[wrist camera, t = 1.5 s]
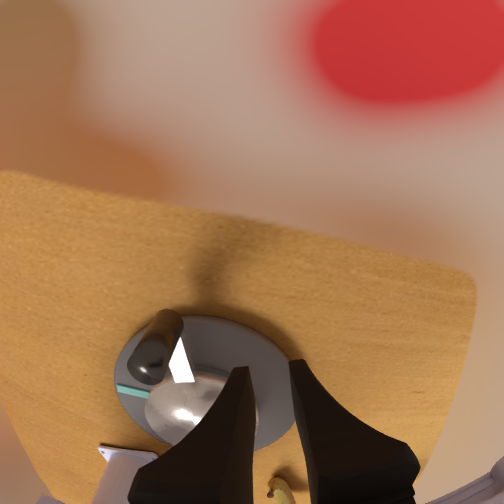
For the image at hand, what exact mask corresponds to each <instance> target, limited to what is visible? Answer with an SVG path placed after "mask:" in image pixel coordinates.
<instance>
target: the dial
mask: <svg viewBox="0 0 504 504" xmlns="http://www.w3.org/2000/svg"><path fill="white" fill-rule="evenodd" d="M168 366H170V370H168V371H167V368H168ZM127 369H128V371H129V373H130V374H131V376H132V377H133V378H134V379H135V380H137V381H139V382H140V383H143V384H146V385H153V386H152V388H151V391H150V393H149V396H148V398H147V400H146V403H145V416H146V419H147V421H148V423H149V425H150V426H151V428H152V429H153V430H154V431H155V432H156V433H157V434H158V435H159V436H160V437H161V438H162V439H164V440H165V441H167V442H168V443H170V444H172V445H174V446H175V445H176V444H177V443H178V442H180V441H181V440H182V439H183V438H184V437H185V436H186V435H187V434H188V433H189V432H190V431H191V430H192V429H193V428H194V427H195V426H196V425H197V424H198V423H199V421H200V420H201V419H202V418H203V417H204V415H205V414H206V413H207V411H208V410H209V409H210V407H211V406H212V404H213V403H214V402H215V400H216V399H217V397H218V395H219V394H220V392H221V390H222V389H223V387H224V385H225V383H226V381H227V379H228V378H229V375H230V373H228V372H226V371H223V370H221V369H217V368H214V367H208V366H201V365H194V363H193V359H192V356H191V353H190V349H189V346H188V343H187V339H186V336H185V332H184V322H183V319H182V318H181V316H180V315H179V314H178V313H176V312H175V311H172V310H168V309H164V310H161V311H159V312H158V313H157V314H156V315H155V317H154V318H153V320H152V322H151V323H150V325H149V326H148V328H147V330H146V331H145V333H144V334H143V336H142V338H141V339H140V341H139V343H138V344H137V346H136V348H135V349H134V351H133V353H132V354H131V356H130V358H129V359H128V362H127ZM254 395H255V394H254ZM255 401H256V429H255V436H256V434H257V432H258V427H259V408H258V401H257V398H256V396H255Z"/></svg>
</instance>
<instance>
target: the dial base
mask: <svg viewBox="0 0 504 504" xmlns="http://www.w3.org/2000/svg"><path fill="white" fill-rule="evenodd" d="M181 318H182V319H183V322H184V332H185V336H186V339H187V343H188V346H189V349H190V353H191V356H192V359H193V363H194V365H201V366H208V367H214V368H217V369H221V370H223V371H226V372H228V373H231V371H232V369H233V368H234V367H243V366H249V370H250V375H251V380H252V385H253V390H254V394H255V396H256V398H257V401H258V408H259V427H258V432H257V434H256V436H255V441H254V451H256V450H259V449H261V448H264V447H266V446H268V445H270V444H272V443H273V442H275V441H276V440H278V439H279V438H280V437H282V436H283V435H284V434H285V433H286V432H287V431H288V430H289V429H290V428H291V426H292V425H293V423H294V422H295V416H294V409H293V401H292V393H291V383H290V373H289V364H288V361H290V359H289V358H288V357H287V355H286V354H285V353H284V352H283V350H281V349H280V348H279V347H278V346H277V345H276V344H275V343H274V342H273V341H271V340H270V339H269V338H267V337H266V336H264V335H263V334H261V333H259V332H257V331H256V330H254V329H252V328H250V327H247V326H245V325H243V324H240V323H238V322H234V321H231V320H227V319H224V318H218V317H213V316H203V315H182V316H181ZM149 325H150V324H149ZM149 325H147V326H146V327H144V328H143V329H141V330H139V331H138V332H137V333H136V334H135V335H134V336H133V337H132V338H131V339H130V340H129V341H128V343H127V344H126V345H125V347H124V349H123V350H122V352H121V353H120V355H119V357H118V359H117V362H116V366H115V370H114V382H115V388H116V392H117V395H118V397H119V400H120V402H121V404H122V406H123V407H124V409H125V410H126V412H127V413H128V414H129V416H130V417H131V418H132V419H133V420H134V421H135V422H136V423H137V424H138V425H139V426H140V427H141V428H142V429H143V430H145V431H146V432H147V433H149V434H150V435H152V436H153V437H155V438H156V439H158V440H160V441H162V442H163V443H166V444H168V445H170V446H172V447H173V446H174V445H172V444H170V443H168V442H167V441H165V440H164V439H162V438H161V437H160V436H159V435H158V434H157V433H156V432H155V431H154V430H153V429H152V428H151V426H150V425H149V423H148V421H147V419H146V416H145V403H146V400H147V398H148V396H149V393H150V391H151V388H152V386H153V385H146V384H143V383H140V382H139V381H137V380H135V379H134V378H133V377H132V376H131V374H130V373H129V371H128V369H127V362H128V359H129V358H130V356H131V354H132V353H133V351H134V349H135V348H136V346H137V344H138V343H139V341H140V339H141V338H142V336H143V334H144V333H145V331H146V330H147V328H148V326H149ZM168 370H170V366H168V368H167V371H168Z"/></svg>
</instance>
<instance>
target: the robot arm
mask: <svg viewBox="0 0 504 504" xmlns="http://www.w3.org/2000/svg"><path fill="white" fill-rule="evenodd" d="M288 364H289V373H290V383H291V393H292V401H293V409H294V416H295V420H296V424H297V428H298V432H299V436H300V439H301V443H302V447H303V451H304V455H305V460H306V467H307V474H308V482H309V490H310V498H311V504H416V503H415V500H414V497H413V496H414V495H415V491H414V489H413V486H412V484H413V483H414V481H415V479H416V477H417V475H418V473H419V471H420V464H419V462H418V459H417V458H416V456H415V454H414V453H413V451H412V450H411V448H410V447H409V446H408V444H407V443H405V442H402V441H399V440H397V439H394V438H392V437H389V436H387V435H385V434H383V433H381V432H379V431H377V430H375V429H374V428H372V427H370V426H369V425H367V424H365V423H364V422H362V421H361V420H359V419H358V418H356V417H355V416H354V415H352V414H351V413H350V412H349V411H347V410H346V409H345V408H344V407H343V406H341V405H340V404H339V403H338V402H337V401H336V400H335V399H334V398H333V397H332V396H331V395H330V394H329V393H328V392H327V390H326V389H325V388H324V387H323V386H322V385H321V383H320V382H319V381H318V380H317V378H316V377H315V376H314V374H313V373H312V371H311V370H310V368H309V367H308V365H307V363H306V361H305V360H303V359H300V360H293V361H288ZM255 429H256V401H255V395H254V390H253V385H252V380H251V375H250V370H249V366H243V367H234V368H233V369H232V371H231V373H230V375H229V378H228V379H227V381H226V383H225V385H224V387H223V389H222V390H221V392H220V394H219V395H218V397H217V399H216V400H215V402H214V403H213V404H212V406H211V407H210V409H209V410H208V411H207V413H206V414H205V415H204V417H203V418H202V419H201V420H200V421H199V423H198V424H197V425H196V426H195V427H194V428H193V429H192V430H191V431H190V432H189V433H188V434H187V435H186V436H185V437H184V438H183V439H182V440H181V441H180V442H178V443H177V444H176V445H175V446H173V447H172V448H171V449H169V450H168V451H167V452H165V453H164V454H163V455H161V456H160V457H158V456H157V454H155V453H153V452H145V451H136V450H127V449H120V448H113V447H107V446H98V450H99V451H100V452H101V454H102V455H103V456H104V458H105V459H106V460H107V462H108V463H107V465H106V468H105V470H104V473H103V475H102V477H101V480H100V482H99V485H98V487H97V490H96V492H95V495H94V497H93V500H92V502H91V504H254V503H253V473H252V466H253V452H254V441H255ZM36 504H64V503H63V502H61V501H59V500H56V499H54V498H51V497H49V496H46V495H44V494H41V496H40V497H39V499H38V501H37V503H36ZM426 504H504V457H502V458H501V459H500V460H499V461H497V462H496V464H495V465H494V466H493V467H492V469H491V471H490V472H489V473H487V474H485V475H483V476H482V477H480V478H478V479H476V480H474V481H473V482H471V483H469V484H467V485H465V486H463V487H461V488H459V489H457V490H455V491H453V492H451V493H449V494H447V495H444V496H442V497H440V498H438V499H435V500H433V501H431V502H428V503H426Z"/></svg>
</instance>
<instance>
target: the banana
mask: <svg viewBox="0 0 504 504" xmlns="http://www.w3.org/2000/svg"><path fill="white" fill-rule="evenodd" d="M268 488H269V491H270V492H268V494H267V497H269V498H273V499H274V501H275V503H276V504H296V502H295V500H294V497H293V495H292V492H291V490H290V488H289V486H288V485H287V483H286V482H285V481H284V480H283V479H281V478H279V477H273V478H271V479H270V480H269V482H268Z"/></svg>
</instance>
